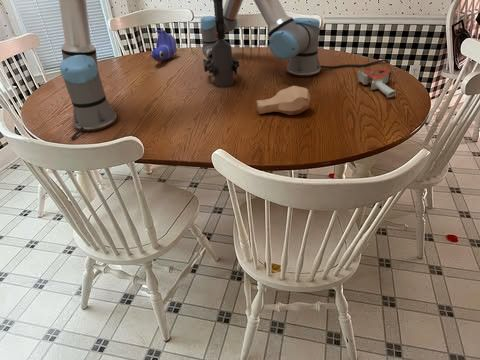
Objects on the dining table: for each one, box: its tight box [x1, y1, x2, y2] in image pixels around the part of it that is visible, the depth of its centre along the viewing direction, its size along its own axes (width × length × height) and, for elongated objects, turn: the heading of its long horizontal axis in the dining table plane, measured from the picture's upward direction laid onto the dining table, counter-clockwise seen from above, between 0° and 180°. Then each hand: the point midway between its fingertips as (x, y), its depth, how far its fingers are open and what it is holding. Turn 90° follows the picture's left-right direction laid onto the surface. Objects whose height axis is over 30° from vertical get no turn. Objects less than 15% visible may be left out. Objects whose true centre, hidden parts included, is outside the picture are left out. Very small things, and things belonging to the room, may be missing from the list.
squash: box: [255, 85, 312, 116], centre depth 130 cm, size 11×20×9 cm, turn 92°
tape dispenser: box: [357, 66, 396, 99], centre depth 144 cm, size 18×5×20 cm
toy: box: [150, 29, 178, 66], centre depth 185 cm, size 10×17×25 cm
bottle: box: [212, 39, 235, 88], centre depth 153 cm, size 8×8×21 cm
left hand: (220, 37), depth 147 cm, fingers closed on cap, 4 cm apart
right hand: (225, 71), depth 151 cm, fingers closed on bottle, 8 cm apart
